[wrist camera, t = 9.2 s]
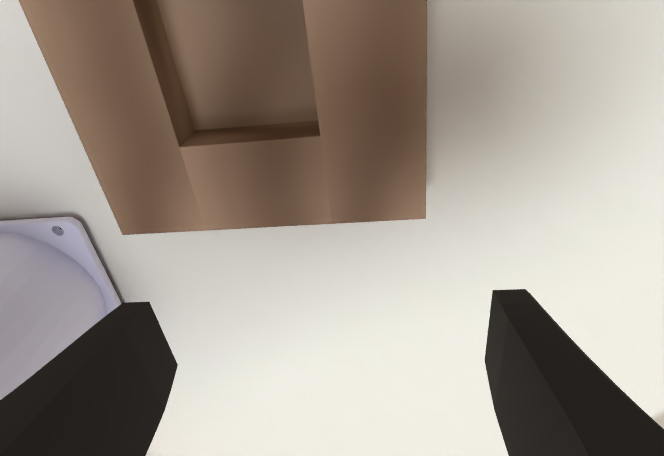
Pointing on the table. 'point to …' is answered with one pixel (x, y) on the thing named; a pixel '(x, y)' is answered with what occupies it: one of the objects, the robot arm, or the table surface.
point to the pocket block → (244, 108)
